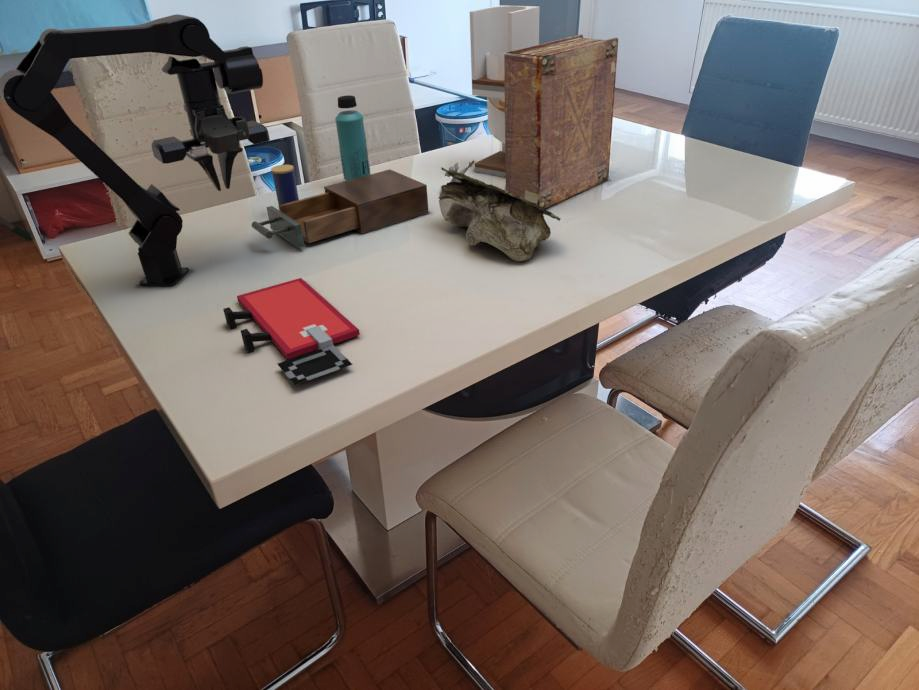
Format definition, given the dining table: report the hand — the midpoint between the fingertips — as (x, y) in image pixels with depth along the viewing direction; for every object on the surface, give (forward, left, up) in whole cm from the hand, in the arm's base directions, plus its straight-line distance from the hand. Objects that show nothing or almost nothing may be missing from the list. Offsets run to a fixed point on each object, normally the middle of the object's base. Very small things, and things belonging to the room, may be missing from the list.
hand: (223, 189), depth 121 cm
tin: (+21, -2, -13) cm, 25 cm away
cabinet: (+22, -22, -13) cm, 33 cm away
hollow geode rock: (+10, -47, -13) cm, 50 cm away
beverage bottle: (+40, -12, -13) cm, 44 cm away
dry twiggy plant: (+35, -38, -13) cm, 54 cm away
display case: (+52, -46, -13) cm, 71 cm away
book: (+36, -59, -13) cm, 71 cm away
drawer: (+10, -10, -12) cm, 19 cm away
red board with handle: (-27, -20, -13) cm, 36 cm away
